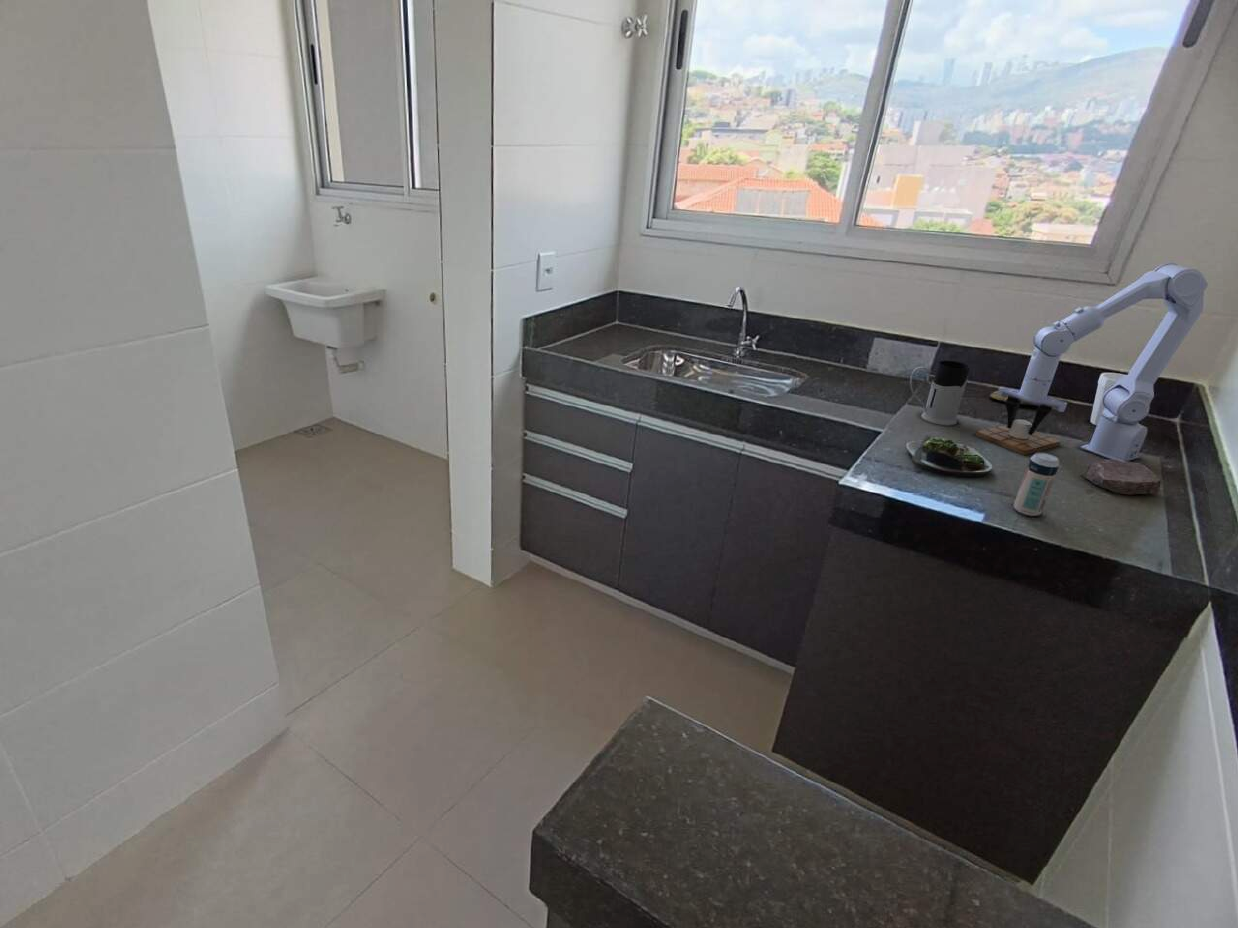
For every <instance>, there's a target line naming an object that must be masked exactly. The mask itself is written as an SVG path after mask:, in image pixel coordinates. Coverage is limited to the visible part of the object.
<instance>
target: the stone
mask: <svg viewBox="0 0 1238 928" xmlns="http://www.w3.org/2000/svg"><path fill="white" fill-rule="evenodd" d="M1084 478H1085V479H1087V480H1088V481H1090V482H1091V483H1092V484H1094V485H1097V486H1099V487H1100V488H1103V489H1106V490H1109V491H1110V492H1112V493H1117V494H1123V495H1137V494H1139V495H1145V494H1158V493H1159V492H1160V489H1161V482H1162V480H1161V479H1160V477H1158V476H1157V475H1156V474H1155V473H1154V471H1152V470H1150V468H1148V467H1147V466H1145V465H1144V464H1142V463H1141V462H1132V461H1126V462H1122V461H1119V460H1115V459H1101V460H1095V461H1093V462H1092V463H1091V464H1088V466H1087V468H1086V470H1085V471H1084Z"/></svg>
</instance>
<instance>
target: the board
mask: <svg viewBox="0 0 1238 928" xmlns="http://www.w3.org/2000/svg"><path fill="white" fill-rule="evenodd" d="M1009 431H1010V429H1009V428H1007V424H1002V425H998V426H994V427H990V428H984V429H982V430H977V432H976V437H978V438H981V439H984V440H986V441H988V442H991V443H994V444H996V445H998V446H1001V447H1003V448H1005V449H1008V450H1011V451H1013V452H1016V453H1018V454H1020V455H1023V456H1026V455H1029V454H1033V453H1038V452H1041V451H1045V450H1048V449H1051V448H1056V447H1058V446H1060V443H1061V440H1058V439H1055V438H1053V437H1050V436H1048V435H1045V434H1043V433H1040V432H1038V431H1035V432H1034V433H1033V434H1032V435H1031V434H1030V435H1029V438H1028V439H1019V438H1015V437H1013V436H1011V435H1009Z"/></svg>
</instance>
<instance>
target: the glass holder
mask: <svg viewBox="0 0 1238 928" xmlns="http://www.w3.org/2000/svg"><path fill="white" fill-rule="evenodd" d="M920 369H924V370H926V374H927V377H926V382H927V384H929V385H930V390H929V393H928V396H927V401H926V404H924V402H922V400H921V399H920V398H919V397H918V396H917V394H916V393H915V391H914V388H913V377H914V375H915V372H916V371H918V370H920ZM970 369H971V366H970V365H968V364H966V363H963V362H960V361H955V360H939V361H938V363H937V366H936V370H935V372H934V373H935V374H934V377H933V379H932V382H930V381H929V380H930V376H931V375H930V371H929V369H928V368H927V367H926V366H918V367H916V368H914V369H913V371H912V372H911V375H910V379H909V387H910V391H911V394H912V395H913V396H914V397H915V399H916V400H917V401H918V402H919V403H920V404H921V405H922V406H923V407H924V410H923V412H922V414H921V418H922V419H923V420H925V421H926V422H929V423H931V424H935V425H940V426H954V425H956V424H957V423H958V422H957V417H958V413H959V409H960V407H961V403H962V400H963V396H964V393H965V389H966V386H967V382H968V380H969V374H970V373H969V372H970Z"/></svg>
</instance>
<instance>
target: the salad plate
mask: <svg viewBox="0 0 1238 928" xmlns="http://www.w3.org/2000/svg"><path fill="white" fill-rule="evenodd" d="M906 449H907V451H908V452H909V454H910V455H911V456H912V461H913V462H914V463H916V464H917V465H919V467H921V468H922V469H923V470H925V471H927V472H930V473H932V474H935V475H939V476H945V477H953V478H962V479H979V478H983V477H985V476H987V475H989V474H990V473H992V471H993V469H994V466H993V464H992V463H991V462H989V461H988V460H987V459H986V458H985V457H984V456H983V455H982V454H981V453H979V451H977V450H976V449H974V448H972V447H971V446H968V445H964V444H961V443H956V442H954V440H952V439H950V438H948V439H946V438H939V436H934V437H933V438H932V439H931V436H930V435H928V434H923V435H922V436H921V439H920V440H911V441H908V442H907V443H906Z"/></svg>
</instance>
